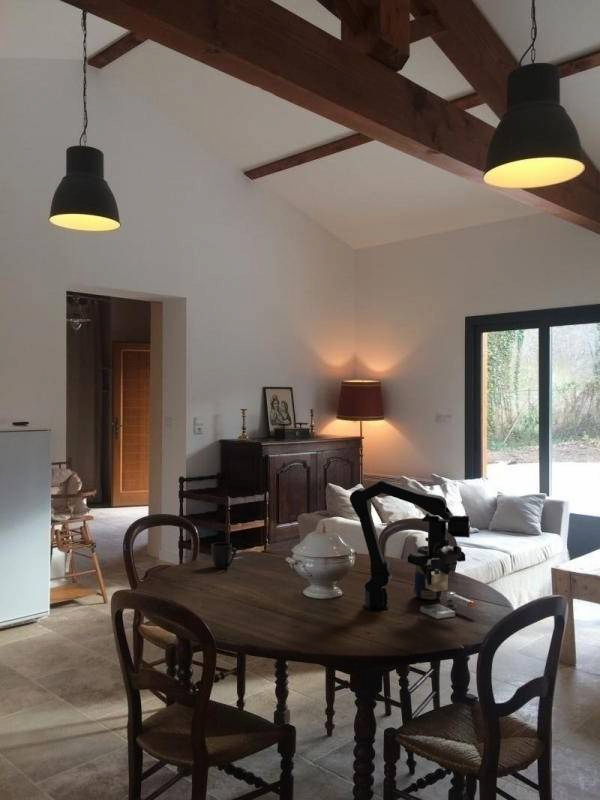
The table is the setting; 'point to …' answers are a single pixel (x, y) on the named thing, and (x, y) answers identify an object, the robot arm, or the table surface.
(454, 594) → the lever
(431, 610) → the plate
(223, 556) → the mug
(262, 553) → the table surface
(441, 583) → the block
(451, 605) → the grey metal flanged disc
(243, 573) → the table surface
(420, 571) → the canister
